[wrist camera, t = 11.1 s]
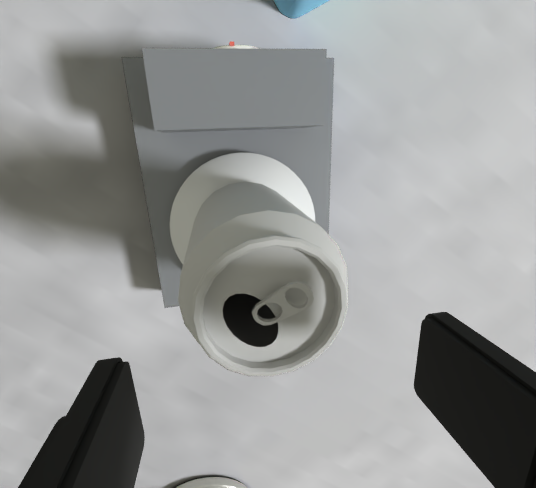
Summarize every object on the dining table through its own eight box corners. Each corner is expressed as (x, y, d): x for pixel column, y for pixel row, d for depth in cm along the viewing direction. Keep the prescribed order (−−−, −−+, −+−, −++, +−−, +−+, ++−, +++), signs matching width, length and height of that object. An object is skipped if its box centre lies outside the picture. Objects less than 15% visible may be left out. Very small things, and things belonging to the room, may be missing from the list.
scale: (316, 275, 29) (344, 312, 23) (169, 290, 27) (155, 337, 21) (319, 67, 24) (360, 39, 17) (133, 68, 22) (98, 36, 15)
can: (172, 221, 21) (125, 306, 10) (255, 158, 21) (302, 176, 10) (235, 292, 24) (252, 422, 13) (310, 238, 24) (396, 323, 13)
